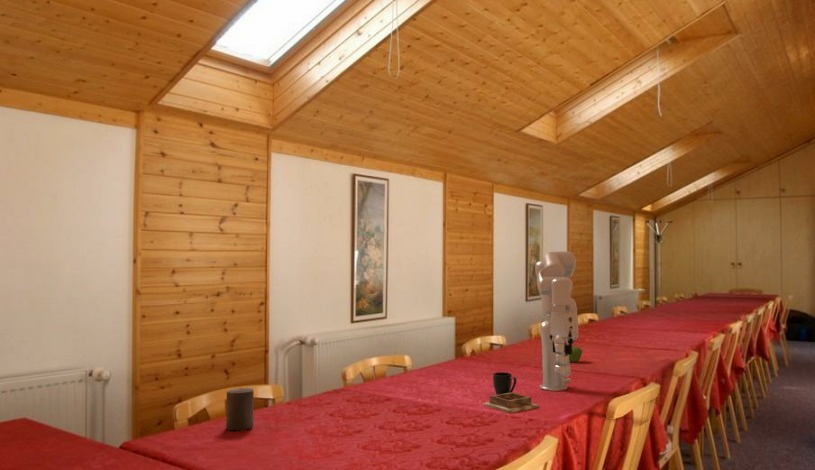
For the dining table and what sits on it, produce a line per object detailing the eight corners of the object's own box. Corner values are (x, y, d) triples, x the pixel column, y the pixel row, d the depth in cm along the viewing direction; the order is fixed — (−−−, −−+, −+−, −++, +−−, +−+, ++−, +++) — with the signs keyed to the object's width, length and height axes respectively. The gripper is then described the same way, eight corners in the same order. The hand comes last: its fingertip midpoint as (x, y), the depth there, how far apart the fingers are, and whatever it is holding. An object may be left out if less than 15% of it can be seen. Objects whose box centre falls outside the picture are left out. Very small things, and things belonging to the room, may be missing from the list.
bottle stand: (512, 400, 266) (512, 390, 266) (538, 407, 252) (538, 397, 253) (483, 405, 258) (483, 395, 258) (508, 413, 244) (508, 402, 244)
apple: (564, 363, 358) (563, 346, 358) (562, 360, 368) (562, 343, 369) (583, 363, 356) (582, 346, 356) (581, 360, 366) (580, 343, 367)
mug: (508, 399, 267) (508, 377, 268) (489, 395, 277) (489, 373, 277) (522, 397, 272) (521, 375, 272) (502, 392, 282) (502, 371, 282)
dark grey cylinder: (239, 432, 221) (239, 390, 222) (220, 429, 226) (220, 387, 227) (259, 426, 229) (259, 385, 230) (240, 423, 234) (241, 383, 235)
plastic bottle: (571, 375, 254) (570, 326, 254) (570, 378, 247) (569, 328, 248) (555, 374, 256) (554, 326, 256) (553, 378, 249) (552, 328, 250)
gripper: (584, 310, 247) (585, 355, 246) (552, 306, 261) (553, 349, 261) (570, 311, 243) (571, 357, 242) (539, 307, 257) (540, 351, 257)
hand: (562, 352), depth 252 cm, fingers closed on plastic bottle, 6 cm apart
